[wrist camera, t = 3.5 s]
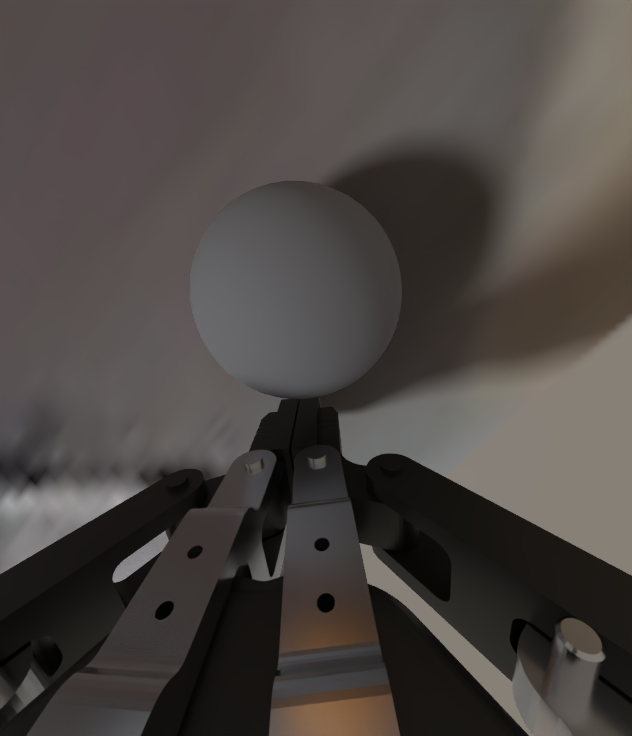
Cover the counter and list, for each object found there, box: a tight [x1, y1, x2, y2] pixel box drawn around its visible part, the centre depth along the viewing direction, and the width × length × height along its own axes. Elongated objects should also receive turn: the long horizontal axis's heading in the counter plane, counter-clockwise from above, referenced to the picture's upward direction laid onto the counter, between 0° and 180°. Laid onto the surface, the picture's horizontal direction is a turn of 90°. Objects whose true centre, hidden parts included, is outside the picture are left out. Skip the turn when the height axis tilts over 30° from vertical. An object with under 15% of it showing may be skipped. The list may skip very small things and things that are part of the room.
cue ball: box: [190, 181, 402, 399], centre depth 9 cm, size 6×6×6 cm
